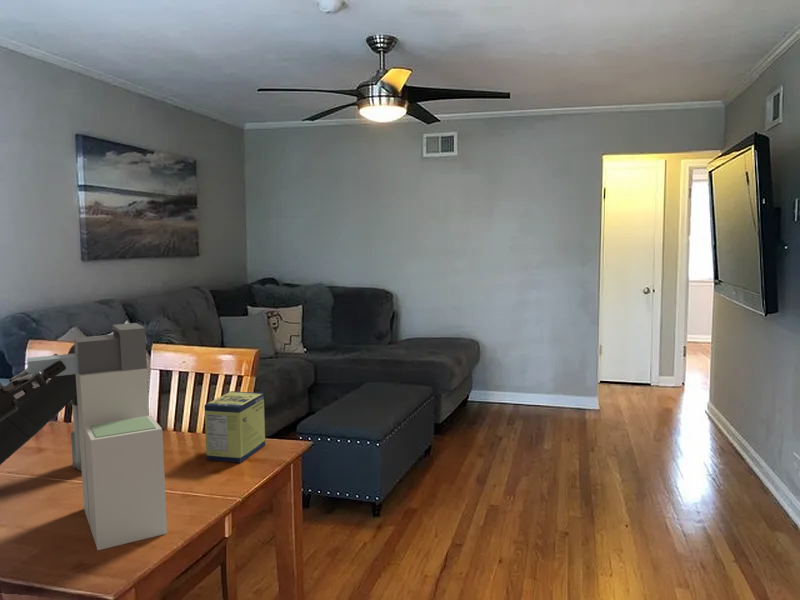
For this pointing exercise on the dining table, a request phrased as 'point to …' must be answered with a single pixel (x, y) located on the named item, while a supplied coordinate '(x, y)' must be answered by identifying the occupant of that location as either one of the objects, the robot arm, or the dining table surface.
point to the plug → (84, 356)
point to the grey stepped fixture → (121, 449)
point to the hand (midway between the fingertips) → (61, 360)
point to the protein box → (234, 426)
